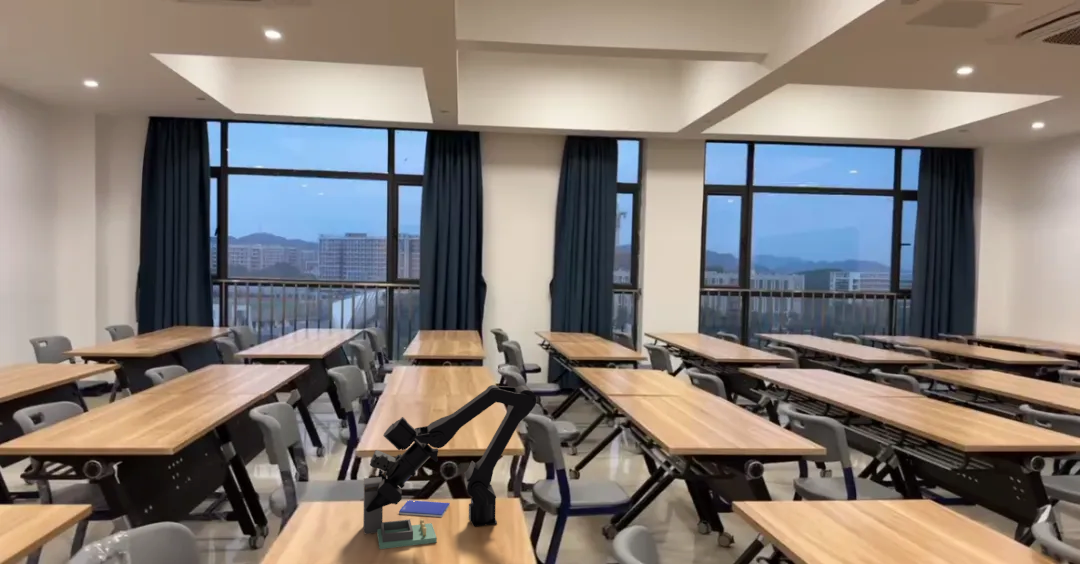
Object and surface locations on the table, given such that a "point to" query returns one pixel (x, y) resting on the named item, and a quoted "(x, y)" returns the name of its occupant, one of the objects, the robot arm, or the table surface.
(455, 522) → the table surface
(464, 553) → the table surface
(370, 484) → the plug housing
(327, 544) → the table surface
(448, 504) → the hard drive
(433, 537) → the header board
